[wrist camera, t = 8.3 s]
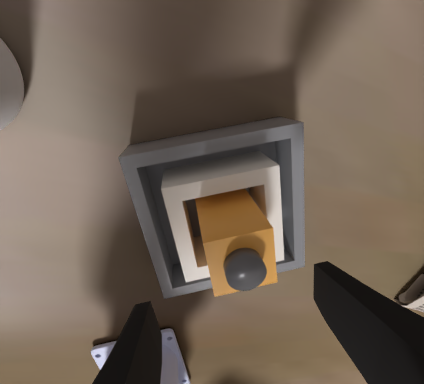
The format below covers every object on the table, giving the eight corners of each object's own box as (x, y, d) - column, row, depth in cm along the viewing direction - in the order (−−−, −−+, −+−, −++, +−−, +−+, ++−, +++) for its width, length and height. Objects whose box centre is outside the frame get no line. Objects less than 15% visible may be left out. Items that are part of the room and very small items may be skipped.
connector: (244, 219, 20) (283, 293, 12) (201, 229, 19) (216, 309, 12) (238, 180, 18) (279, 236, 11) (193, 189, 18) (204, 253, 11)
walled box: (286, 241, 22) (311, 275, 18) (166, 267, 21) (163, 310, 17) (280, 116, 18) (312, 124, 14) (129, 145, 17) (114, 162, 13)
